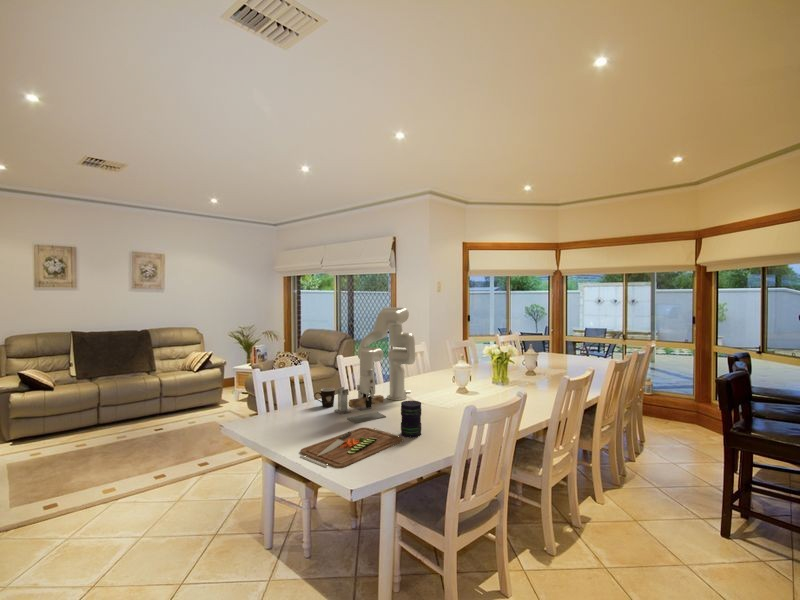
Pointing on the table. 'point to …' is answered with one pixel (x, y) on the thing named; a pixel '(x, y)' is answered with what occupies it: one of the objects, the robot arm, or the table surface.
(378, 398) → the bread baguette
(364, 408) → the post far
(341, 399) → the post near
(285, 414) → the table surface
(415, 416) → the storage jar
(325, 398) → the coffee mug
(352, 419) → the mat
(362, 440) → the chopping board
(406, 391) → the robot arm
